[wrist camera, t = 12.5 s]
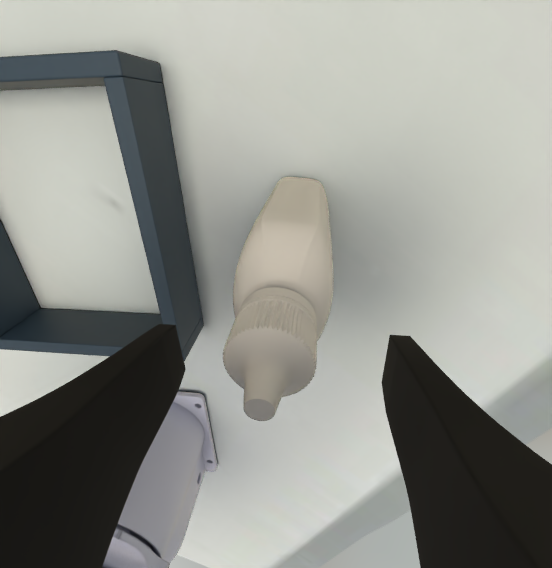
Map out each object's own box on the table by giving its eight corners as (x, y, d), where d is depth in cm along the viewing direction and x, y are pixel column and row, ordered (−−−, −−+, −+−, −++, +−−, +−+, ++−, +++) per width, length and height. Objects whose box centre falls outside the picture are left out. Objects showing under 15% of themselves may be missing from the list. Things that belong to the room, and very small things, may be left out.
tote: (204, 325, 21) (184, 361, 18) (35, 317, 23) (-9, 348, 20) (160, 62, 14) (116, 49, 11) (-79, 74, 16) (-174, 66, 13)
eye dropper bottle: (236, 245, 18) (125, 428, 8) (292, 159, 16) (236, 259, 5) (298, 286, 19) (273, 501, 9) (362, 210, 16) (434, 386, 6)
